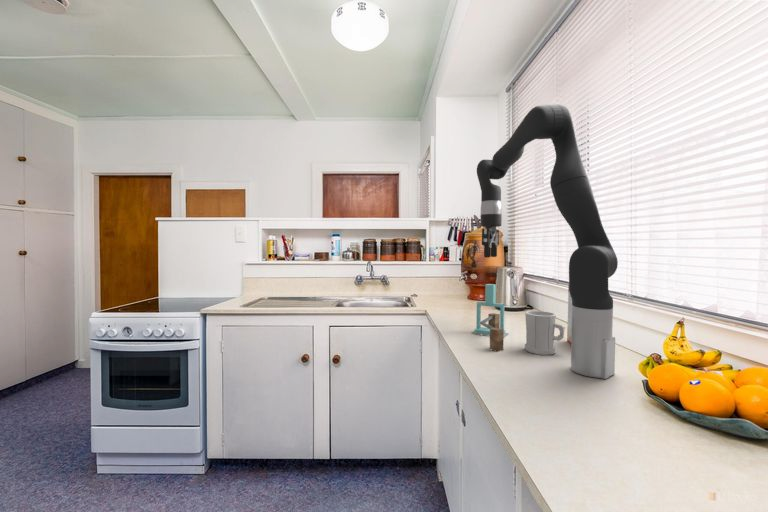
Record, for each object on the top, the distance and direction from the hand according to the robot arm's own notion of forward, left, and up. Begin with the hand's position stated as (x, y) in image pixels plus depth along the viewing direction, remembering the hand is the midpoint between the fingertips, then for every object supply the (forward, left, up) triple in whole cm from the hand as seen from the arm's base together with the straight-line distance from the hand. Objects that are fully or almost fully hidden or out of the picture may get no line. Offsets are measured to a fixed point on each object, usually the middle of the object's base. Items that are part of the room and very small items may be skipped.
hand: (490, 257), depth 132 cm
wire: (-6, +5, -23) cm, 25 cm away
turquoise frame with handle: (0, 0, -29) cm, 29 cm away
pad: (0, 0, -29) cm, 29 cm away
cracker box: (-29, -9, -29) cm, 42 cm away
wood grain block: (-6, +5, -29) cm, 30 cm away
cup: (-23, +6, -29) cm, 38 cm away
